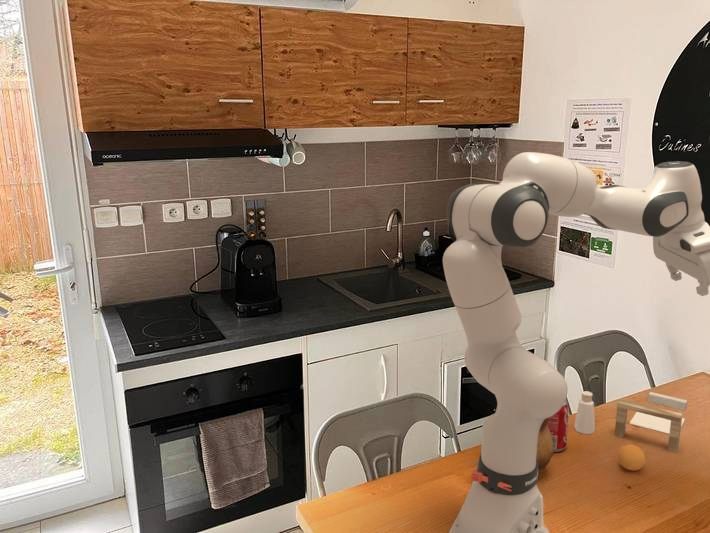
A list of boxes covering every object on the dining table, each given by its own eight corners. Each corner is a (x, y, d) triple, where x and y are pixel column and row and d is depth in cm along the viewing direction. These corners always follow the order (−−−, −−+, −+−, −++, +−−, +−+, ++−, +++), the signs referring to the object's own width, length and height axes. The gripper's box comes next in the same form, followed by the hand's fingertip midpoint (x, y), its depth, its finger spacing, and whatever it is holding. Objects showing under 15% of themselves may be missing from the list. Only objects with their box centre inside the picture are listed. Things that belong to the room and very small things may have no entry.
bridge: (676, 453, 150) (680, 418, 147) (614, 435, 159) (617, 402, 156) (678, 448, 152) (682, 413, 150) (617, 431, 161) (620, 398, 159)
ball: (640, 478, 139) (643, 455, 138) (614, 469, 142) (616, 447, 141) (646, 467, 143) (648, 444, 142) (620, 459, 147) (622, 437, 146)
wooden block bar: (685, 410, 172) (685, 402, 172) (648, 401, 178) (648, 394, 178) (686, 408, 174) (687, 400, 173) (649, 399, 180) (650, 391, 179)
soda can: (568, 454, 150) (571, 407, 147) (539, 451, 151) (541, 405, 148) (564, 440, 156) (567, 395, 154) (536, 438, 158) (539, 393, 155)
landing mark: (676, 436, 158) (677, 435, 158) (629, 423, 165) (629, 422, 165) (685, 419, 167) (685, 418, 167) (639, 408, 174) (639, 407, 174)
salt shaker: (594, 436, 158) (597, 398, 156) (573, 432, 161) (575, 395, 158) (595, 427, 163) (598, 390, 161) (574, 423, 166) (577, 387, 163)
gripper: (642, 223, 139) (650, 275, 143) (698, 249, 119) (705, 308, 124) (667, 215, 139) (674, 267, 143) (727, 239, 119) (733, 298, 124)
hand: (689, 286), depth 134 cm, fingers open, 8 cm apart
